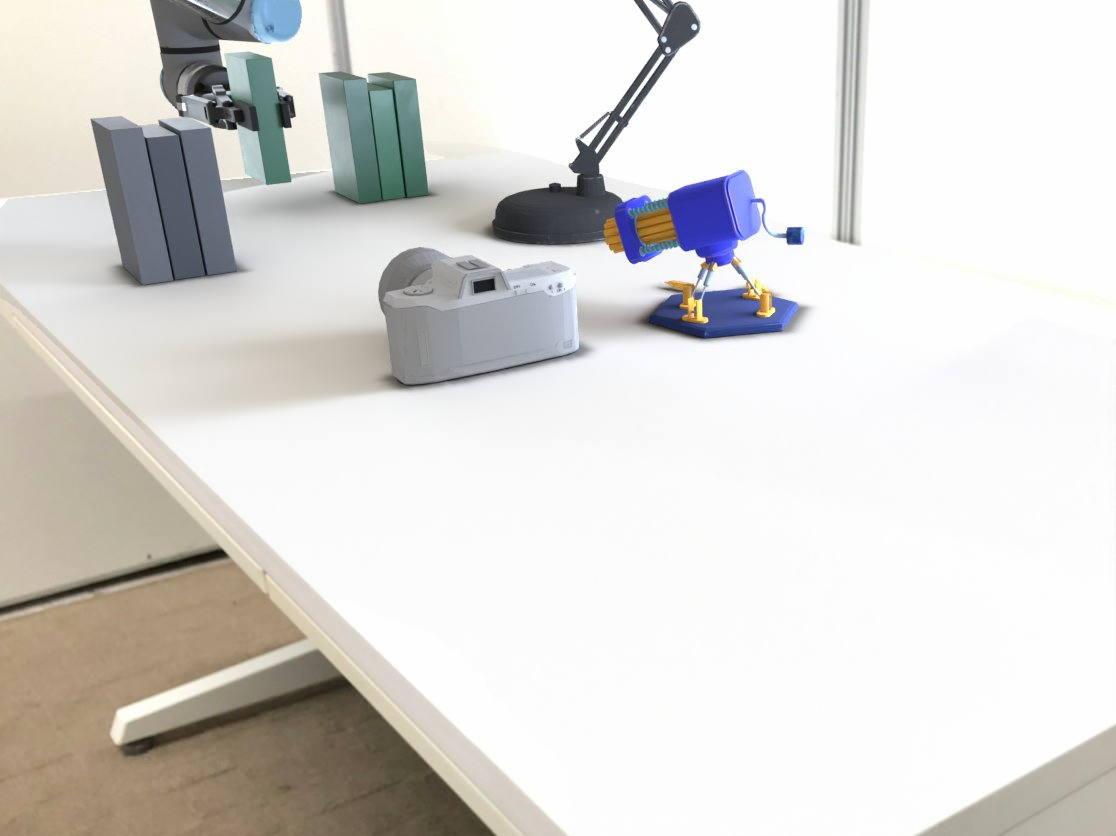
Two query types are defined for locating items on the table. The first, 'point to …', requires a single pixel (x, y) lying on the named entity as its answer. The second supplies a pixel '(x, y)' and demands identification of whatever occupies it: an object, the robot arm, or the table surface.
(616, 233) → the toy gatling gun
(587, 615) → the table surface
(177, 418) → the table surface
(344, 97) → the green books
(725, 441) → the table surface
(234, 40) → the robot arm
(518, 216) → the desk lamp
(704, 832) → the table surface
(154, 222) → the grey books
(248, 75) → the green book
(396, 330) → the digital camera
